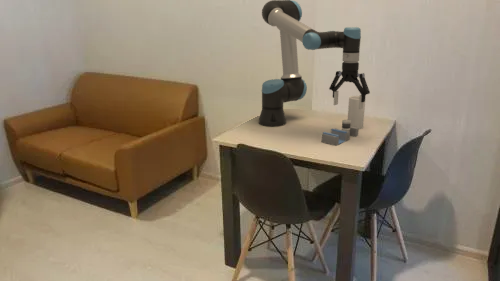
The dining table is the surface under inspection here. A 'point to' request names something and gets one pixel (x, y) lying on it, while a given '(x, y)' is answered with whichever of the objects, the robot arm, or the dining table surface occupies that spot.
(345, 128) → the plug
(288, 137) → the dining table surface
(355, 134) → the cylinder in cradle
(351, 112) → the cup
